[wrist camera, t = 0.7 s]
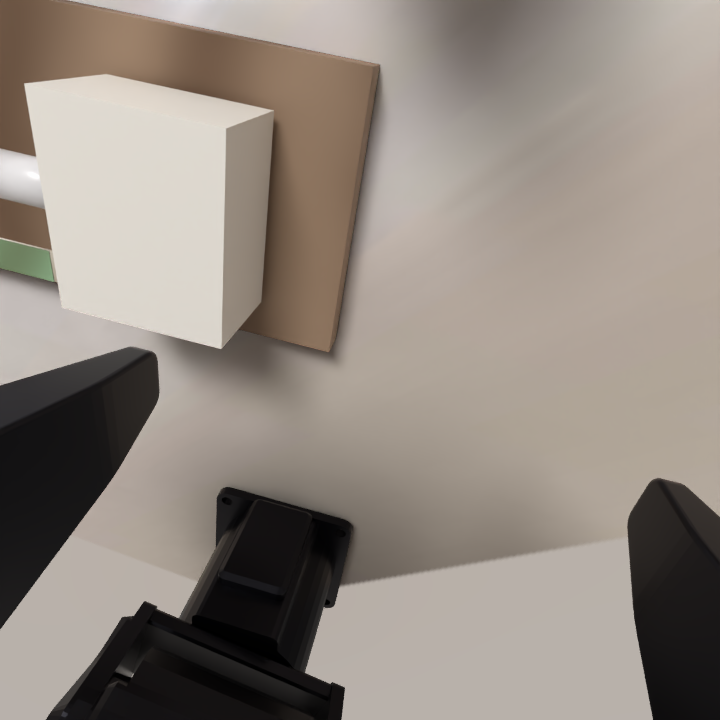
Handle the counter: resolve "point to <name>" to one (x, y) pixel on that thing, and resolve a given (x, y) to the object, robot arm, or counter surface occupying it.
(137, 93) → the gauge carriage
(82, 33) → the base
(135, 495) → the counter surface
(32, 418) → the robot arm
